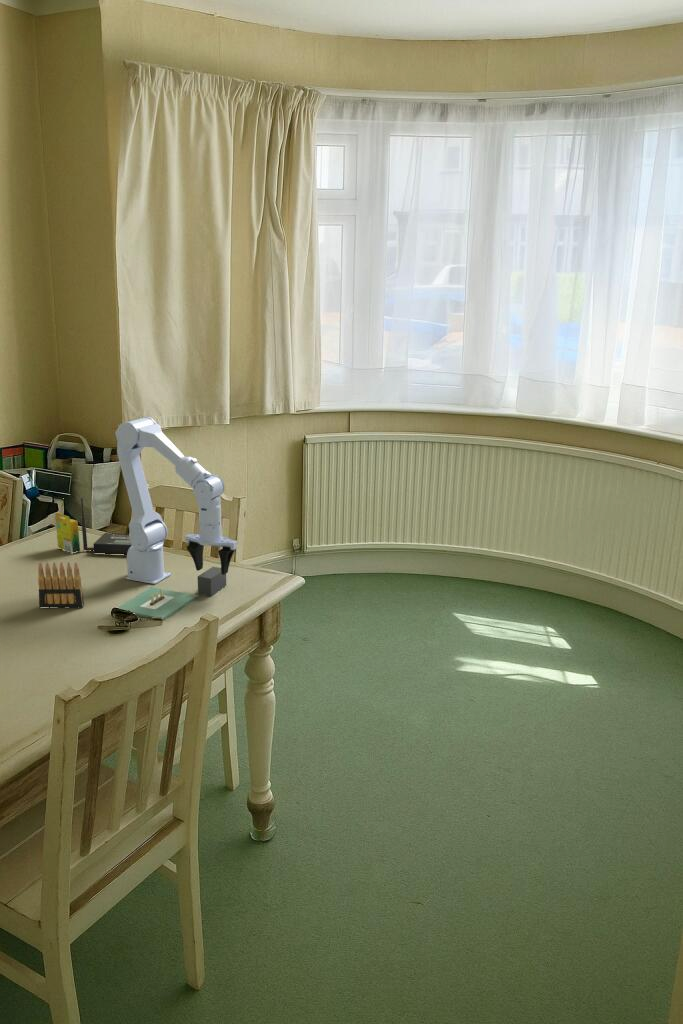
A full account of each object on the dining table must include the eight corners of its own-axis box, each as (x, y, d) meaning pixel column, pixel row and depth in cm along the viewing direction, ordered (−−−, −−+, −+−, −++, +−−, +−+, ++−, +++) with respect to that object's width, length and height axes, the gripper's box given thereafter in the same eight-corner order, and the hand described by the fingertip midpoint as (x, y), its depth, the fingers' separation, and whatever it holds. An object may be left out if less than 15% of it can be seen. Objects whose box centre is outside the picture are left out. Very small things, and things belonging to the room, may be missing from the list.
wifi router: (158, 544, 263) (155, 491, 258) (145, 560, 250) (142, 504, 245) (94, 542, 264) (90, 489, 259) (78, 557, 251) (74, 501, 246)
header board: (115, 611, 213) (114, 599, 212) (151, 589, 227) (151, 578, 226) (163, 620, 208) (162, 608, 207) (197, 597, 222) (197, 586, 221)
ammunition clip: (39, 608, 214) (35, 563, 210) (41, 605, 215) (37, 561, 212) (82, 608, 214) (78, 563, 211) (84, 605, 216) (80, 560, 213)
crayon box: (80, 552, 254) (77, 514, 251) (72, 554, 252) (69, 517, 248) (66, 546, 258) (63, 510, 255) (57, 549, 256) (54, 512, 253)
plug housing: (198, 594, 224) (197, 576, 223) (213, 583, 231) (212, 566, 230) (211, 596, 223) (210, 578, 221) (226, 586, 230) (225, 568, 228)
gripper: (178, 523, 220) (180, 572, 224) (227, 530, 215) (228, 580, 219) (192, 516, 227) (194, 563, 231) (240, 522, 222) (241, 571, 225)
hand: (212, 571), depth 225 cm, fingers open, 7 cm apart
